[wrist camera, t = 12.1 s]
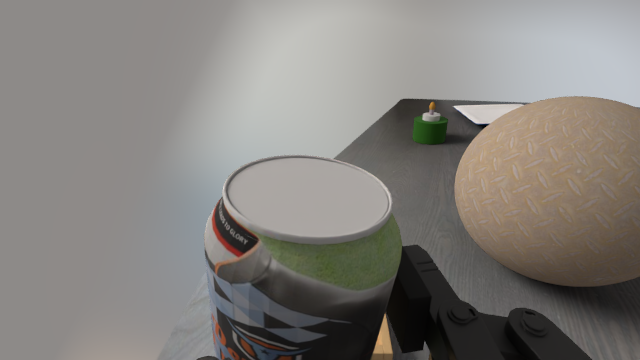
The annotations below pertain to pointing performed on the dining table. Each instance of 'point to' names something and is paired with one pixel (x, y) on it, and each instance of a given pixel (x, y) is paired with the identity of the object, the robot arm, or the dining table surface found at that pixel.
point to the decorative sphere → (557, 191)
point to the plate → (485, 112)
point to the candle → (430, 127)
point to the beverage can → (300, 260)
